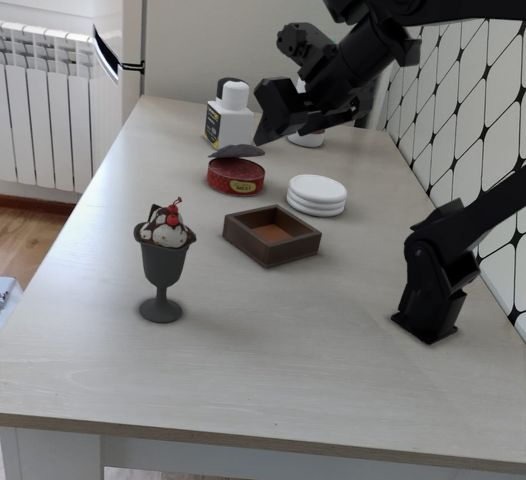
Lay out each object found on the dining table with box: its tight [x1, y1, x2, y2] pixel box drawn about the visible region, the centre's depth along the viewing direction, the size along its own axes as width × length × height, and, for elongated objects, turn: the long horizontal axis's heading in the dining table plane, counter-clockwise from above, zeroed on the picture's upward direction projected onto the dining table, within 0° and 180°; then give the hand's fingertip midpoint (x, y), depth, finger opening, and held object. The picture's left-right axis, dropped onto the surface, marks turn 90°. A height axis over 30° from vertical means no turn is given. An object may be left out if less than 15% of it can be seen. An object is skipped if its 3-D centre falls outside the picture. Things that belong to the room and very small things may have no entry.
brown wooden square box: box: [221, 203, 323, 270], centre depth 85 cm, size 10×10×4 cm
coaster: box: [286, 174, 348, 218], centre depth 99 cm, size 10×10×4 cm
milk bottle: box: [287, 38, 337, 148], centre depth 120 cm, size 8×8×20 cm
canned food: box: [206, 144, 266, 197], centre depth 100 cm, size 11×10×10 cm
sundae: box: [133, 196, 198, 324], centre depth 64 cm, size 7×7×15 cm
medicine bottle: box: [204, 76, 255, 151], centre depth 114 cm, size 7×7×12 cm
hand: (277, 138), depth 79 cm, fingers open, 9 cm apart
